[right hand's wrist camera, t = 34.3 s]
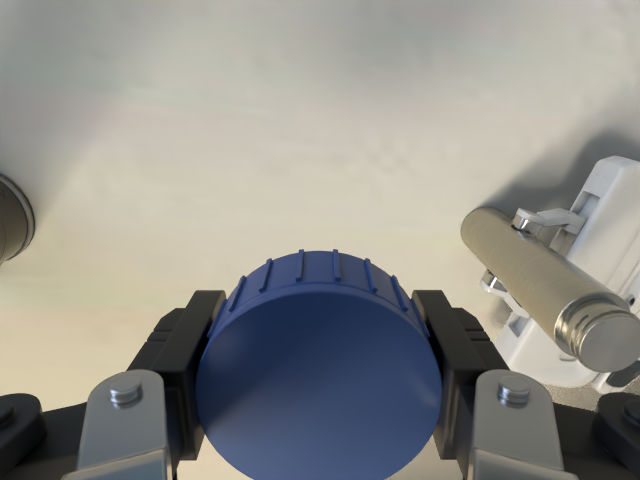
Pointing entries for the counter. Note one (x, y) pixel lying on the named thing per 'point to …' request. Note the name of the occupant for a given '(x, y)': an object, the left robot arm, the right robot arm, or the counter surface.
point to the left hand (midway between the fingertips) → (500, 249)
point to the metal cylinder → (556, 293)
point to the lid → (318, 372)
